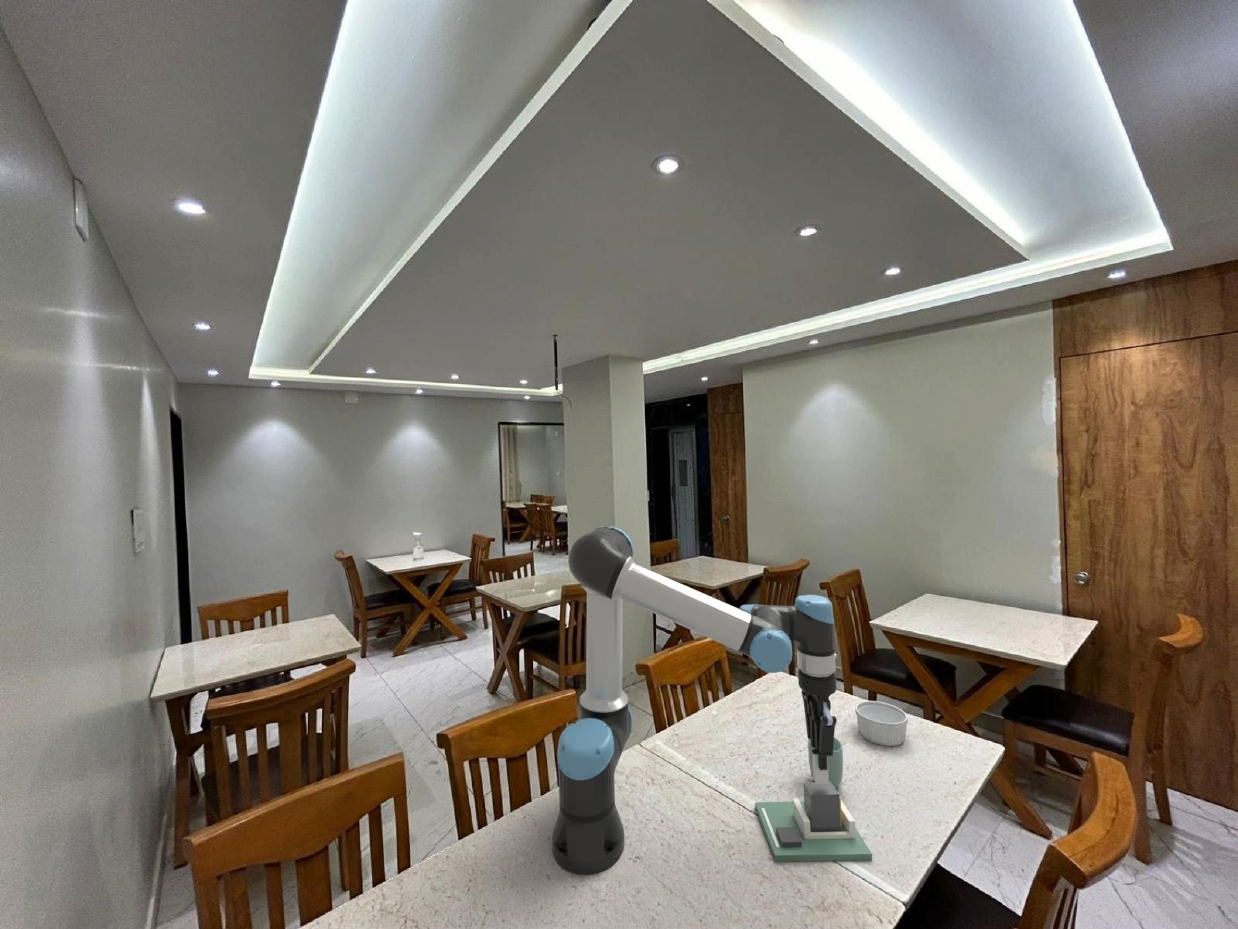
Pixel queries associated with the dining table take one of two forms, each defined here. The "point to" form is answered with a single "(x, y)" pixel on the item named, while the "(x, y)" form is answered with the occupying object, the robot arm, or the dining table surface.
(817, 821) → the plug
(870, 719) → the ramekin
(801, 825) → the board
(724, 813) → the dining table surface
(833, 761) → the cup
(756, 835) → the dining table surface
